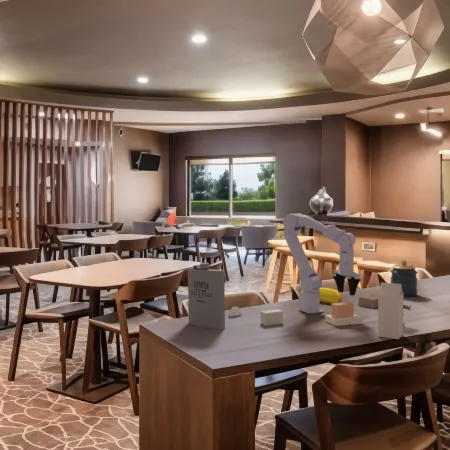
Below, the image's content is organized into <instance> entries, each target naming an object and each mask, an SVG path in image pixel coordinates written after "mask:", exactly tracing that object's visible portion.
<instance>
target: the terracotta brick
mask: <svg viewBox="0 0 450 450" xmlns="http://www.w3.org/2000/svg"><path fill="white" fill-rule="evenodd" d="M354 306H355V305H354V303H353V302H350V301H342V302H341V303H333V304H330V307H331V308H330V309H331V310H330V311H331V313H330V315H331V316H332V317H336V318H342V317H349V316H354V314H355V312H354V311H355V309H354Z"/></svg>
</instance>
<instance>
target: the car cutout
mask: <svg viewBox="0 0 450 450" xmlns="http://www.w3.org/2000/svg"><path fill="white" fill-rule="evenodd" d="M227 315H228V317H229V318H233V317H237V316H241V317H242V316H243V313H242V308H239V306H232V307H231V308H230V309H229V310H228V314H227Z"/></svg>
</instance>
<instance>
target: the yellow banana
mask: <svg viewBox="0 0 450 450" xmlns="http://www.w3.org/2000/svg"><path fill="white" fill-rule="evenodd" d="M342 298H343V297H342V292H340V293H339V292H338V289H334V288H329V287H320V303H325V304H330V305H331V304H333V303H341V302H343V299H342Z"/></svg>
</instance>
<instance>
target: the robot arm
mask: <svg viewBox="0 0 450 450" xmlns="http://www.w3.org/2000/svg"><path fill="white" fill-rule="evenodd" d="M282 224H283V237H284V239H285V241H286V243H287V246H288V249H289V251H290V253H291V255H292V257H293V259H294V262H295V264H296V266H297V268H298V271H299V276H298V277H299V281H300V287H301V289H302V290H301V291H300V292H299V294H298V308H296V309H297V310H298V311H301V312H304V313H306V314H309V315H310V314H317V313H324V312H325V310H323V309H321V306H320V305H321V302H320V288H322V286H323V279H322V278H321V276H320V275H319V274H318V273H317V272H316V270H315V269H313V268H312V266H311V264H310V261H309V260H308V257H307V254H306V252H305V250H304V249H303V246H302V244H301V241H300V239H299V236H298V235H299V233H300V230H301V229H302V228H303V227H308V228H311V229H313V230H316V231H318V232H321V233H322V235H323V237H324V238H326V239H329V240H330V241H331V242H334V243H336V244H338V246H339V269H334V270H333V276H332V278H333V280H334V282H335V284H336V288H337V289H336V290H338V292H339V293H344V290H345V281H347V283H348V289H349V290H348V291H349V296H352V297H353V296H356V291H357V289H358V285H359V284H360V282H361V274H360V273H357V272H356V271H355V272H354V265H355V264H354V253H355V252H354V251H355V250H354V245H355V243H356V237H355V235H354V234H353V233H352V232H351V231H350V232H346V230H345V229H340V228H338V227H336V225H335V224H327V225H325V224H323V223H321V222H319V221H317V220H316V219H314V218H313V217H310V216H309V215H307V214H303V213H300V212H298V213H288V214H286V215H285V217H284V218H283V221H282Z"/></svg>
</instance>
